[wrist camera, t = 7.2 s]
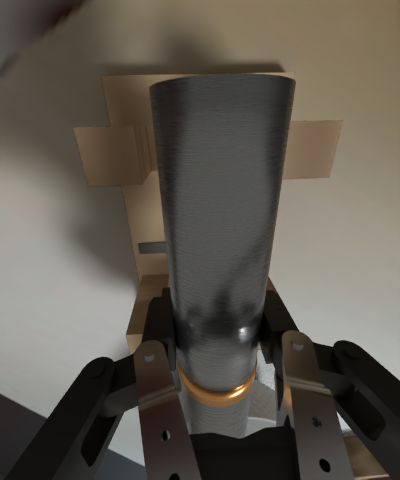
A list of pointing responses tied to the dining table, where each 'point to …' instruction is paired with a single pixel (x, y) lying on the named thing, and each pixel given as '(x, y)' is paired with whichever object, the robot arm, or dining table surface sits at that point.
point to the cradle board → (147, 181)
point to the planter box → (363, 461)
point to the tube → (219, 229)
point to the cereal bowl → (258, 408)
